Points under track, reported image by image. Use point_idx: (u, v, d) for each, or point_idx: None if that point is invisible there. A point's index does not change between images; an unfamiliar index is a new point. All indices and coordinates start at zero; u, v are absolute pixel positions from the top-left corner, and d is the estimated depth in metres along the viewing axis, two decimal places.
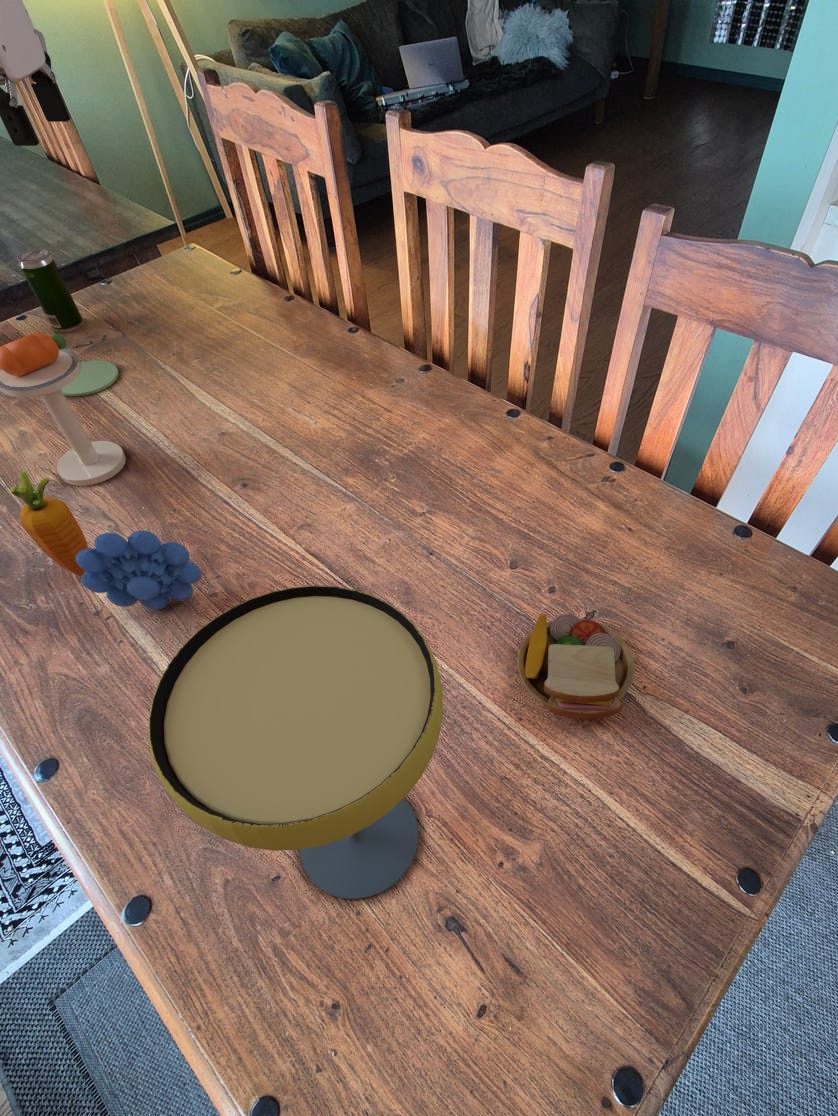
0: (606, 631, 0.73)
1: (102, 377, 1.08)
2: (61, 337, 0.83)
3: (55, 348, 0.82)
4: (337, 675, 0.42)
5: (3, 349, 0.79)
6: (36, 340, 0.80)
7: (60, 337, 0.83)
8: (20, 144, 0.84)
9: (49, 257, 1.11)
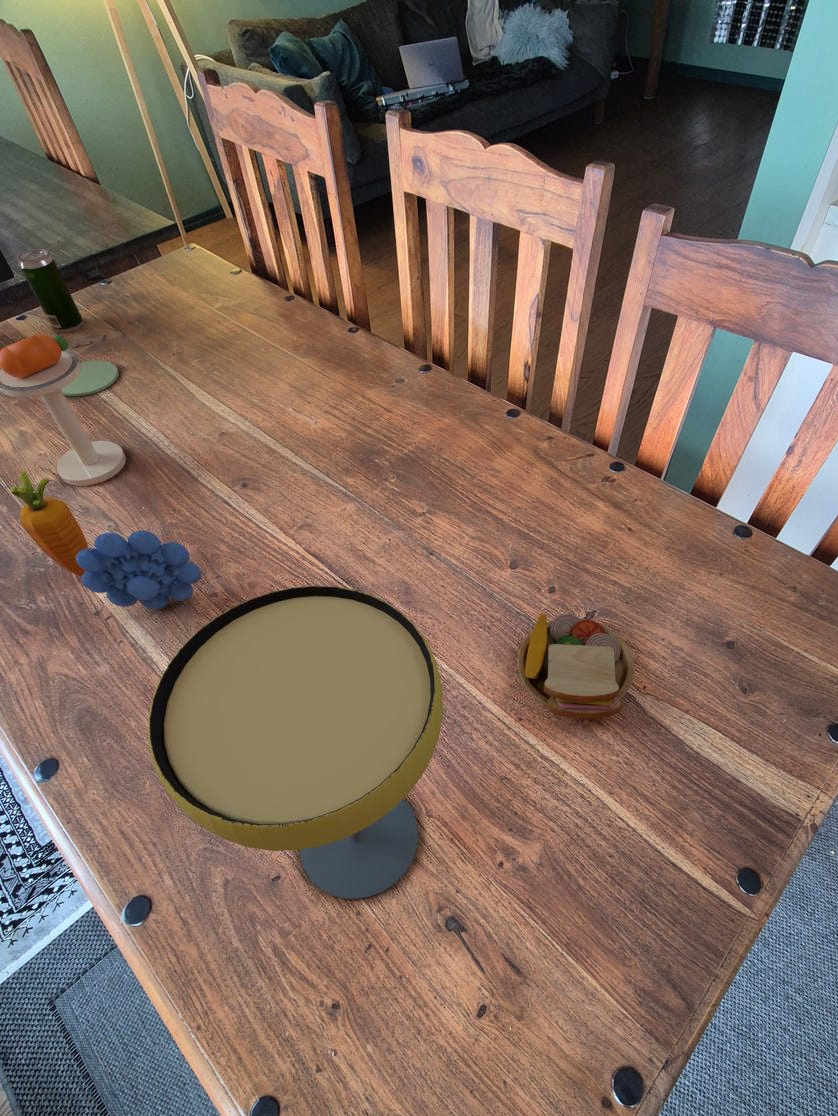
0: (606, 631, 0.73)
1: (102, 377, 1.08)
2: (64, 340, 0.83)
3: (59, 353, 0.82)
4: (337, 675, 0.42)
5: (8, 354, 0.79)
6: (41, 346, 0.80)
7: (63, 340, 0.82)
8: None
9: (49, 257, 1.11)
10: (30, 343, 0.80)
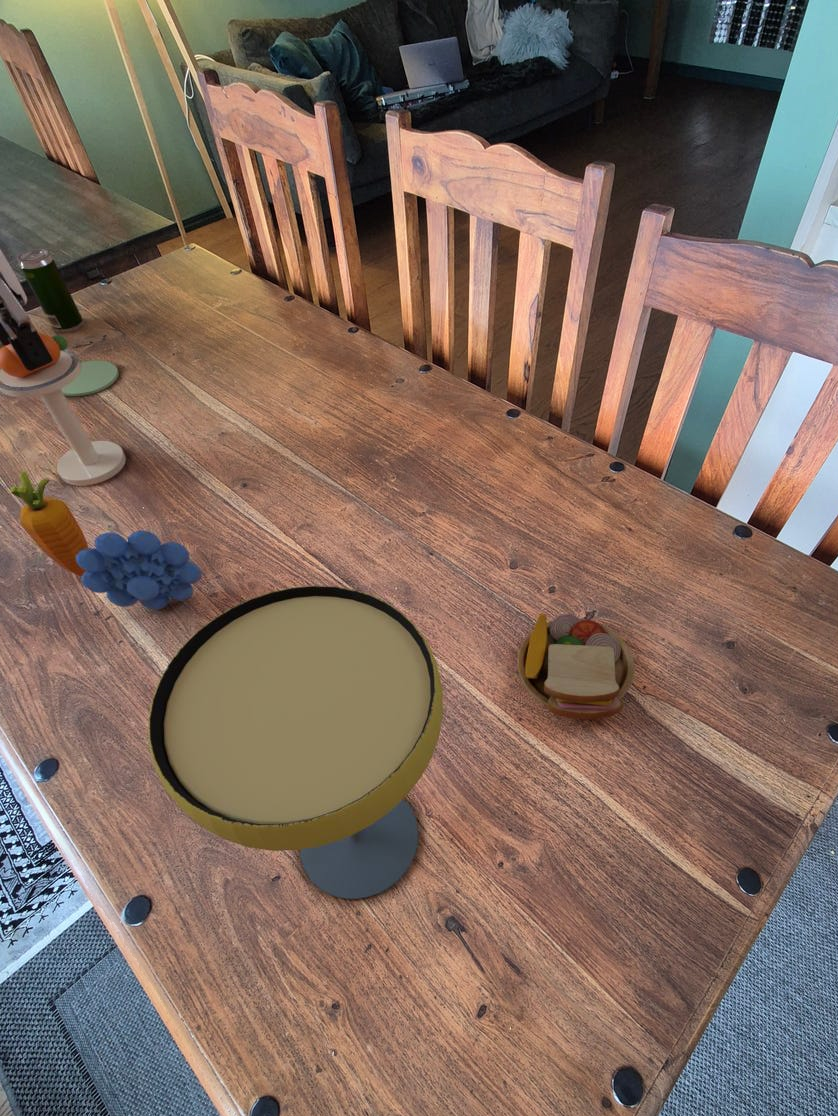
0: (606, 631, 0.73)
1: (102, 377, 1.08)
2: (63, 339, 0.83)
3: (58, 352, 0.82)
4: (337, 675, 0.42)
5: (6, 352, 0.79)
6: None
7: (62, 339, 0.82)
8: (35, 367, 0.80)
9: (49, 257, 1.11)
10: None
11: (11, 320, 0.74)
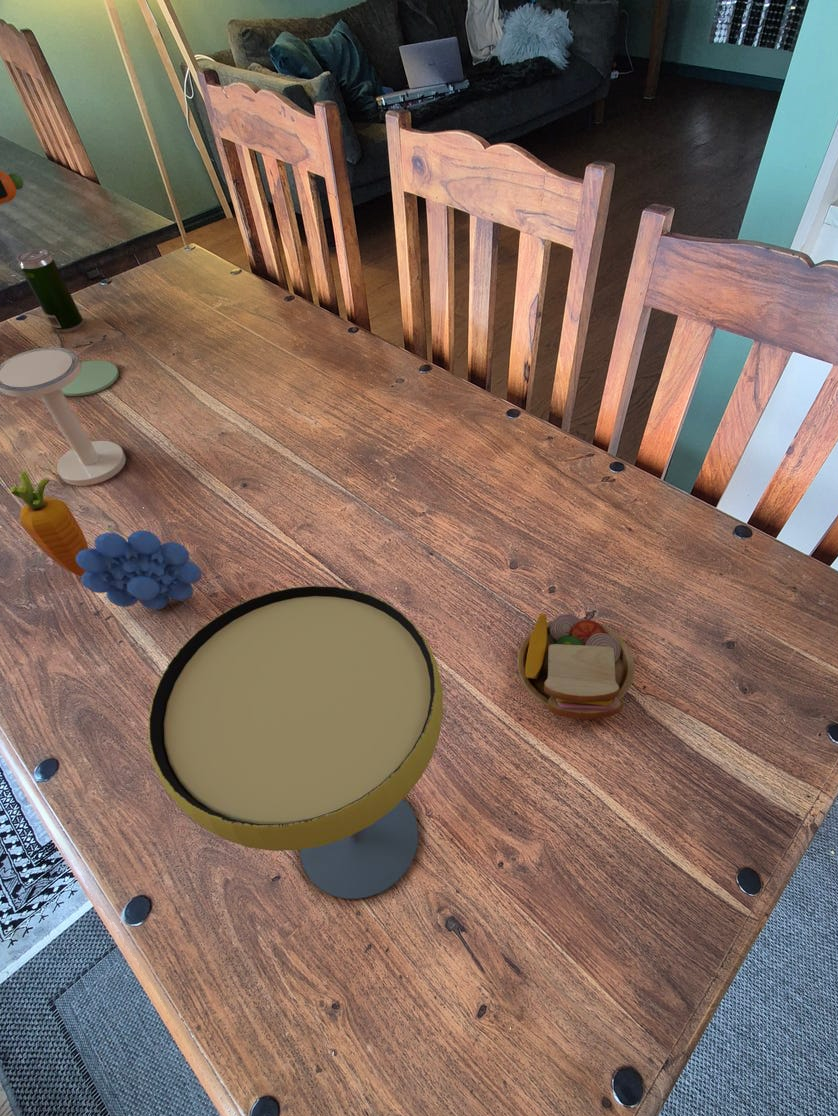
0: (606, 631, 0.73)
1: (102, 377, 1.08)
2: (19, 177, 0.88)
3: (13, 188, 0.87)
4: (337, 675, 0.42)
5: None
6: None
7: (17, 177, 0.88)
8: None
9: (49, 257, 1.11)
10: None
11: None
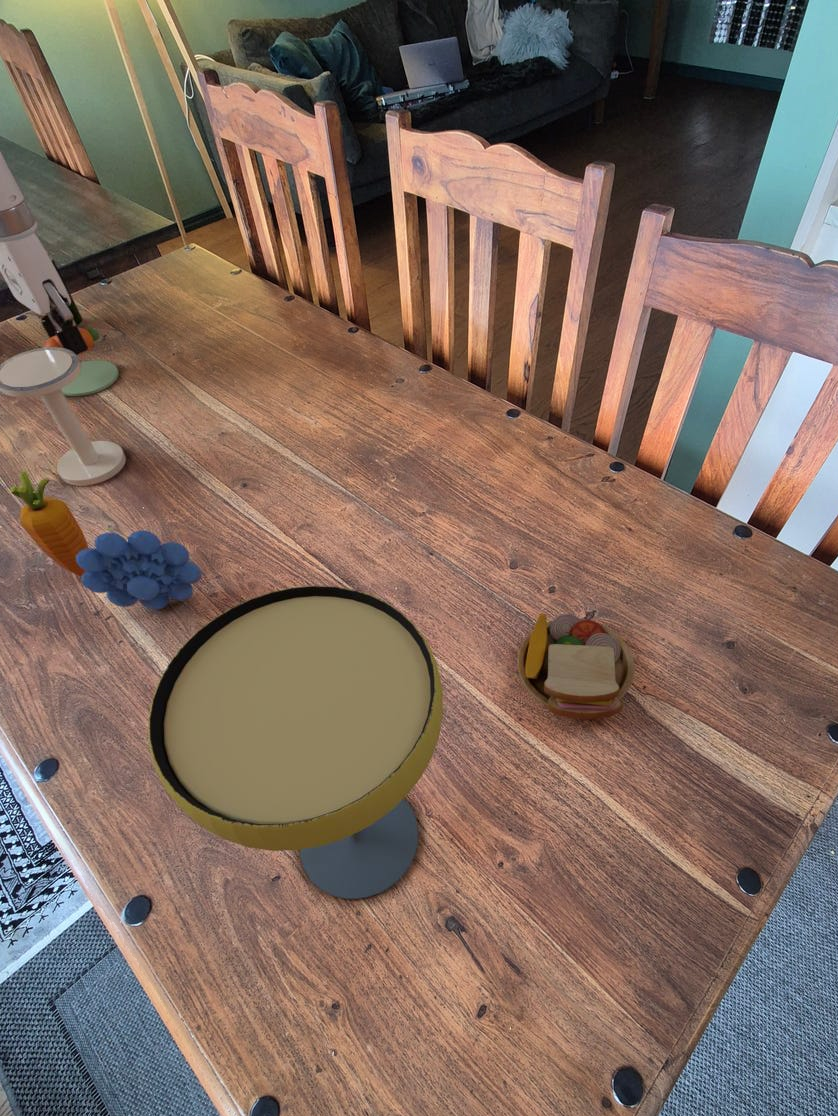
0: (606, 631, 0.73)
1: (102, 377, 1.08)
2: (96, 332, 1.05)
3: (92, 342, 1.05)
4: (337, 675, 0.42)
5: (53, 342, 1.01)
6: None
7: (95, 332, 1.05)
8: None
9: (49, 257, 1.11)
10: None
11: (59, 317, 0.97)
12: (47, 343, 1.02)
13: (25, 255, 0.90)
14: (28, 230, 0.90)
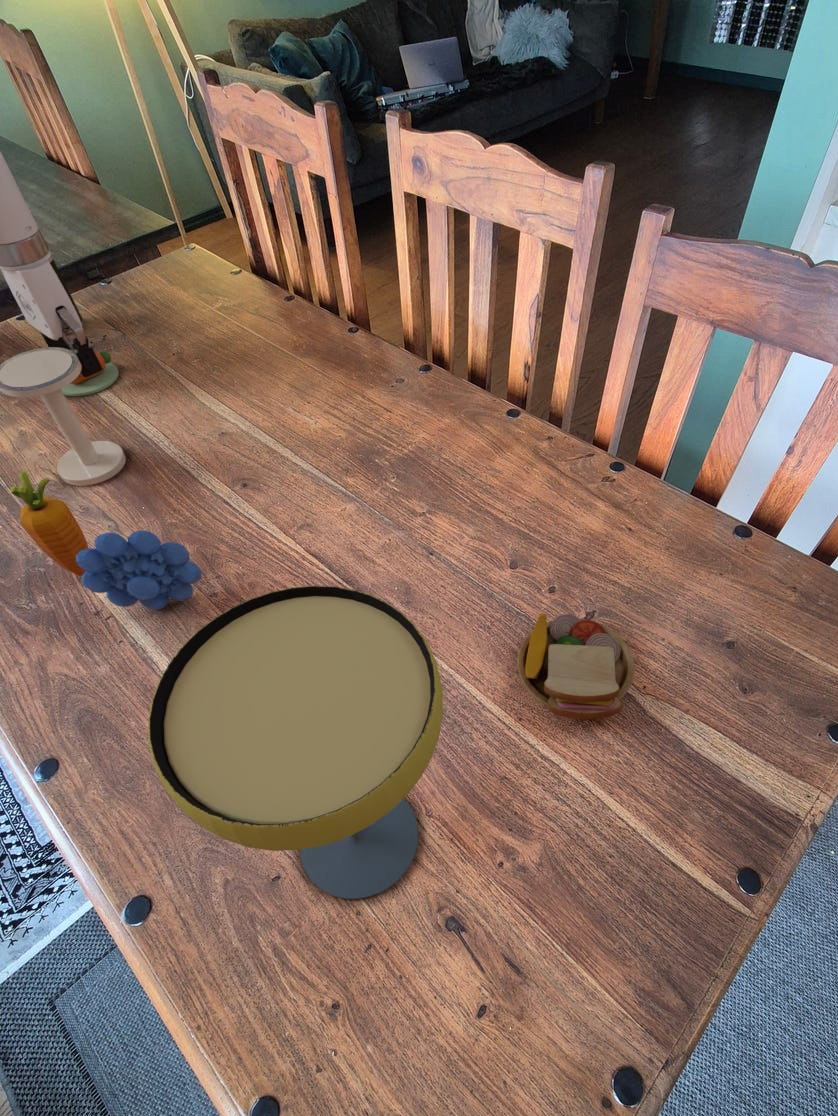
0: (606, 631, 0.73)
1: (102, 377, 1.08)
2: (109, 356, 1.08)
3: (104, 366, 1.08)
4: (337, 675, 0.42)
5: None
6: None
7: (108, 356, 1.08)
8: (89, 375, 1.04)
9: None
10: None
11: (75, 340, 0.98)
12: None
13: (39, 283, 0.93)
14: (42, 259, 0.93)
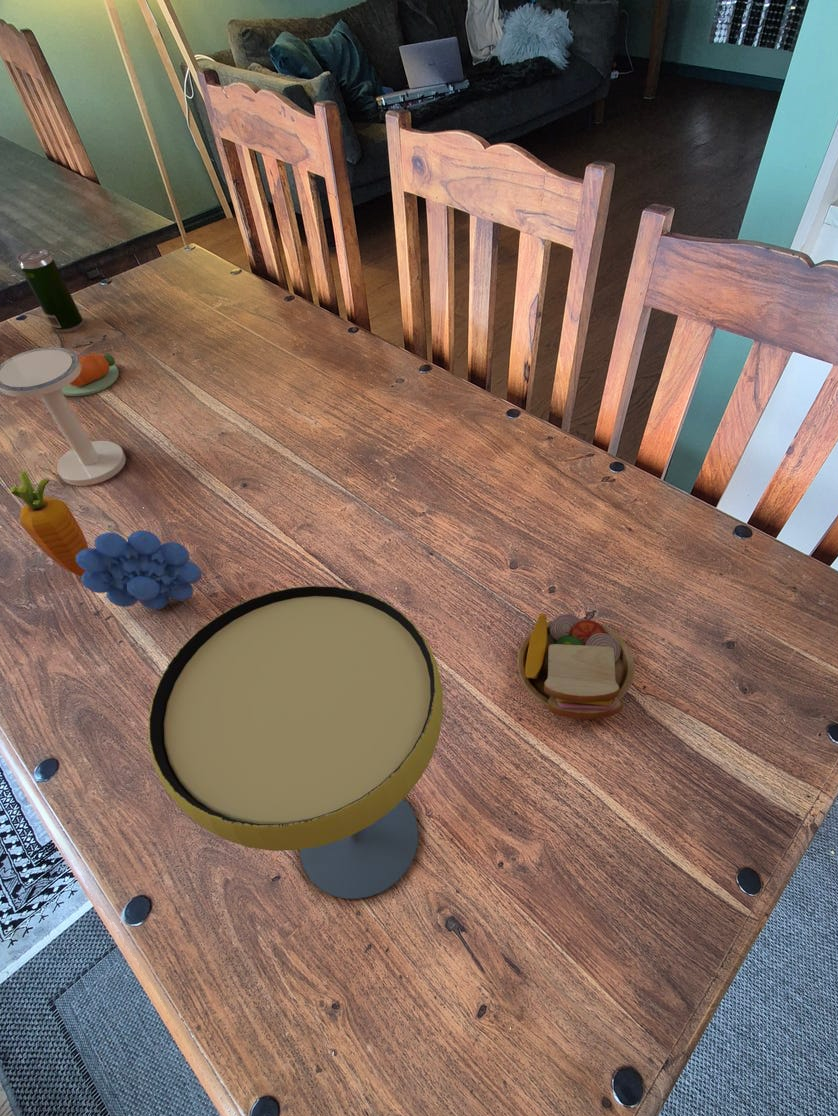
0: (606, 631, 0.73)
1: (102, 377, 1.08)
2: (114, 361, 1.08)
3: None
4: (337, 675, 0.42)
5: (77, 378, 1.04)
6: (101, 372, 1.06)
7: (113, 362, 1.08)
8: None
9: (49, 257, 1.11)
10: (94, 370, 1.05)
11: None
12: None
13: None
14: None
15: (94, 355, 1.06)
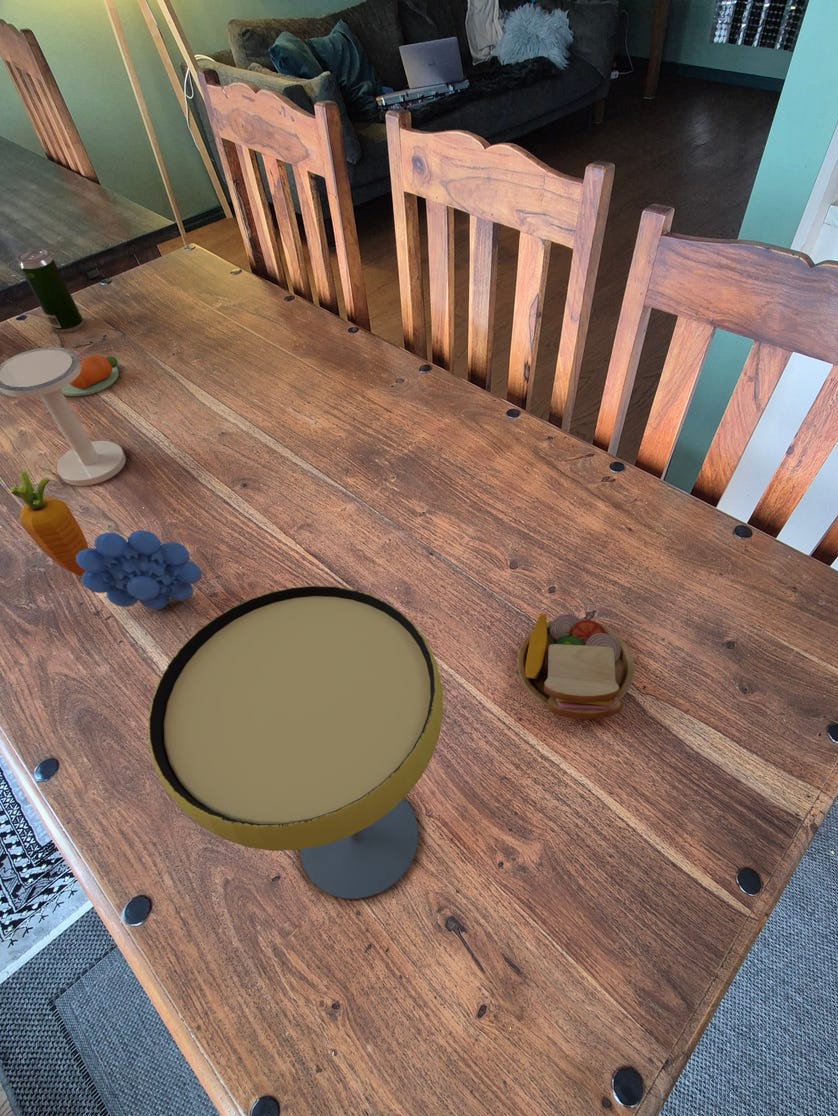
0: (606, 631, 0.73)
1: None
2: None
3: None
4: (337, 675, 0.42)
5: (82, 384, 1.05)
6: (105, 377, 1.07)
7: (116, 365, 1.08)
8: None
9: (49, 257, 1.11)
10: (99, 376, 1.06)
11: None
12: (75, 382, 1.04)
13: None
14: None
15: (100, 360, 1.05)
